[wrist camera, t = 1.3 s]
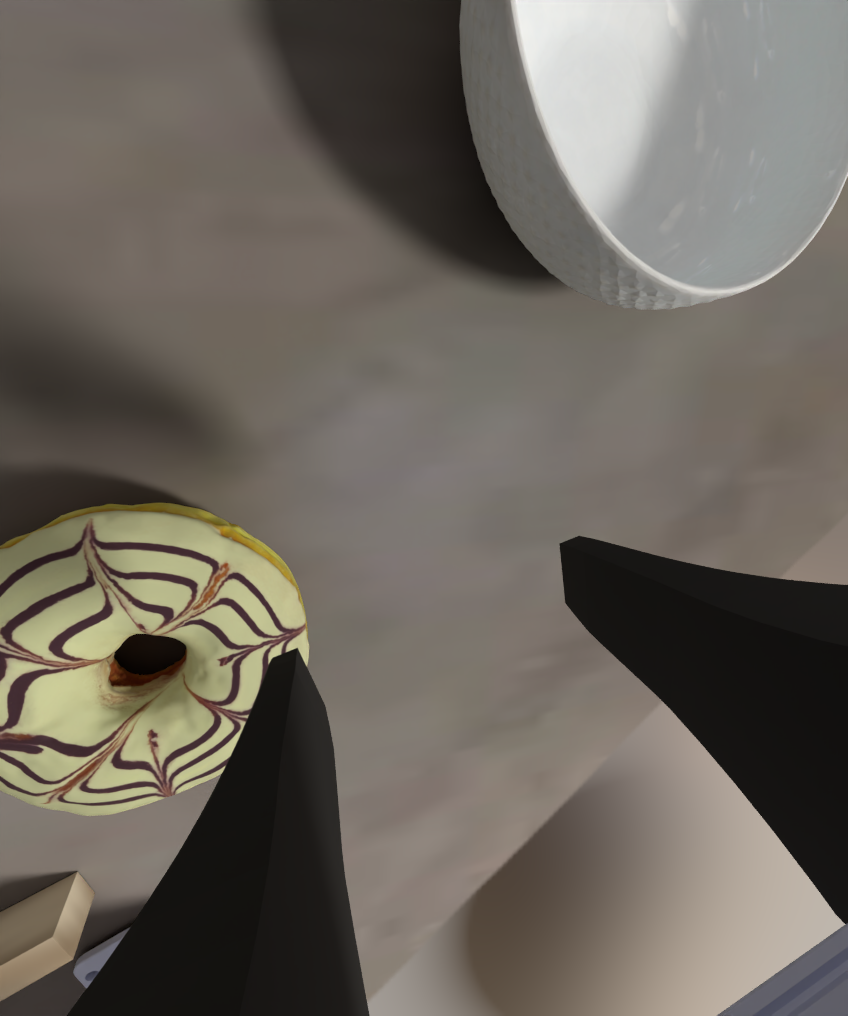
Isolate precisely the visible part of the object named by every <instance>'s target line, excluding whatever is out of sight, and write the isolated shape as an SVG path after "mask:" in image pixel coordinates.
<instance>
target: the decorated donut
mask: <svg viewBox="0 0 848 1016" xmlns="http://www.w3.org/2000/svg"><path fill="white" fill-rule="evenodd" d="M135 634H150V635H156V636H166V637H171V638H175V639H177V640H179V641H181V642H182V643H184V644H185V645H186V651H185V656H184V657H183V658H182V659H181V660H180V661H178V662H176V663H175V664H174V665H171V666H169V667H167V668H166V669H165V670H161V671H159V672H156V673H154V674H150V675H143V674H142V675H139V674H133V673H130V672H128V671H127V670H125V668H123V667H121V666H120V665H119V664H118V662H117V660H115V658H114V654H115V653H114V652H115V651H116V650H117V649H118V648H119V647H120V646H121V645H122V643H123V642H124V641H125V640H126V639H127V638H128V637H130V636H132V635H135ZM296 648H298V650H299V652H300V654H301V656H302V658H303V660H304V662H305V664H306V666H307V663H308V657H309V643H308V630H307V621H306V615H305V610H304V605H303V602H302V598H301V594H300V591H299V589H298V586H297V584H296V582H295V579H294V577H293V575H292V573H291V571H290V569H289V568H288V566H287V565H286V563H285V562H284V561H283V560H282V559H281V558H280V557H279V556H278V555H277V554H276V553H275V552H274V551H273V550H272V549H270V548H269V547H268V546H266V545H265V544H264V543H262V542H261V541H259V540H258V539H256V538H254V537H253V536H251V535H250V534H248V533H247V532H245V531H244V530H243V529H242V528H241V527H239V526H238V525H235V524H231V523H229V522H227V521H225V520H224V519H221V518H219V517H216V516H215V515H213V514H212V513H210V512H207V511H205V510H202V509H198V508H192V507H186V506H182V505H178V504H172V503H147V504H138V505H119V504H106V505H103V506H95V507H89V508H85V509H80V510H76V511H73V512H70V513H67V514H65V515H61V516H60V517H59V518H57V519H55V520H53V521H52V522H50V523H49V524H47V525H45V526H44V527H42V528H40V529H38V530H35V531H33V532H31V533H28V534H25V535H22V536H18V537H15V538H13V539H11V540H9V541H7V542H6V543H4V544H3V545H1V546H0V790H1V791H3V792H4V793H7V794H9V795H12V796H14V797H16V798H18V799H20V800H23V801H25V802H27V803H29V804H32V805H35V806H38V807H42V808H46V809H52V810H63V811H67V812H71V813H75V814H79V815H84V816H96V815H110V814H115V813H118V812H123V811H126V810H130V809H133V808H137V807H140V806H143V805H146V804H149V803H153V802H155V801H158V800H160V799H163V798H166V797H169V796H172V795H175V794H178V793H180V792H182V791H185V790H187V789H190V788H192V787H194V786H196V785H198V784H200V783H203V782H206V781H208V780H210V779H212V778H214V777H216V776H218V775H219V774H221V773H222V772H223V770H224V768H225V766H226V764H227V762H228V760H229V758H230V756H231V754H232V752H233V750H234V748H235V746H236V743H237V741H238V739H239V737H240V734H241V732H242V730H243V727H244V725H245V723H246V720H247V718H248V716H249V713H250V711H251V709H252V706H253V704H254V701H255V699H256V696H257V694H258V691H259V689H260V686H261V684H262V681H263V678H264V676H265V673H266V670H267V668H268V665H269V663H270V661H271V659H272V658H273V657H276V656H278V655H281V654H283V653H286V652H288V651H291V650H293V649H296Z"/></svg>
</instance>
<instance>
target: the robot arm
mask: <svg viewBox="0 0 848 1016" xmlns="http://www.w3.org/2000/svg"><path fill="white" fill-rule="evenodd" d="M560 553H561V563H562V573H563V583H564V594H565V603H566V604H567V606H568V607H569V608H570V609H571V611H572V612H573V613H574V614H575V616H576V617H577V618H578V619H579V621H580V622H581V623H582V624H583V625H584V627H585V628H586V629H587V630H588V631H589V632H590V633H591V634H592V635H593V636H594V637H595V638H596V639H597V640H598V641H599V642H600V643H601V644H602V645H603V646H604V647H605V648H606V649H607V650H609V651H610V652H611V653H612V654H613V655H614V656H615V657H616V658H617V659H618V660H619V661H620V662H621V663H622V664H624V665H625V666H626V667H627V668H628V669H629V670H630V671H631V672H632V673H633V674H634V675H635V676H636V677H637V678H639V679H640V680H641V681H642V682H643V683H644V684H645V685H646V686H647V687H648V688H649V689H650V690H651V691H653V692H654V693H655V694H656V695H657V696H658V697H659V698H660V699H661V700H662V701H663V702H664V703H665V704H666V705H667V706H668V707H669V708H670V709H671V710H672V711H673V713H674V714H675V715H676V716H677V717H678V718H679V719H680V720H681V722H682V723H683V724H684V725H685V726H686V727H687V728H688V729H689V731H690V732H691V733H692V734H693V735H694V736H695V737H696V738H697V739H698V740H699V741H700V743H701V744H702V745H703V746H704V747H705V748H706V750H707V751H708V752H709V753H710V755H711V756H712V757H713V758H714V759H715V760H716V762H717V763H718V764H719V765H720V766H721V767H722V769H723V770H724V771H725V772H726V773H727V775H728V776H729V777H730V778H731V779H732V780H733V782H734V783H735V784H736V785H737V787H738V788H739V789H740V790H741V791H742V793H743V794H744V795H745V796H746V798H747V799H748V800H749V801H750V803H752V805H753V806H754V808H755V809H756V810H757V811H758V813H759V814H760V815H761V816H762V818H763V819H764V820H765V821H766V822H767V824H768V825H769V826H770V827H771V829H772V830H773V831H774V833H775V834H776V835H777V836H778V838H779V839H780V840H781V842H782V843H783V844H784V846H785V847H786V848H787V849H788V851H789V852H790V854H791V855H792V856H793V857H794V859H795V860H796V861H797V863H798V864H799V865H800V867H801V868H802V869H803V871H804V872H805V873H806V874H807V876H808V877H809V879H810V880H811V881H812V882H813V884H814V885H815V887H816V888H817V889H818V891H819V892H820V893H821V895H822V896H823V897H824V899H825V900H826V901H827V903H828V904H829V906H830V907H831V908H832V910H833V911H834V913H835V914H836V915H837V916H838V917H839V918H840V919H841V920H842V921H843V922H844V923H845V924H846V925H844V926H843V927H841V928H840V929H839V930H837V931H836V932H834V933H833V934H831V935H830V936H829V937H827V938H826V939H824V940H823V941H822V942H820V943H819V944H817V945H816V946H815V947H813V948H812V949H811V950H809V951H807V952H806V953H805V954H803V955H802V956H800V957H799V958H798V959H796V960H795V961H793V962H792V963H790V964H789V965H788V966H786V967H785V968H783V969H782V970H781V971H779V972H778V973H776V974H775V975H774V976H772V977H771V978H769V979H768V980H767V981H765V982H764V983H762V984H761V985H759V986H758V987H757V988H755V989H754V990H753V991H751V992H750V993H748V994H747V995H745V996H744V997H742V998H741V999H740V1000H738V1001H737V1002H736V1003H734V1004H733V1005H731V1006H730V1007H729V1008H727V1009H726V1010H724V1011H723V1012H721V1013H720V1014H718V1015H717V1016H848V585H838V584H825V583H815V582H805V581H794V580H785V579H777V578H769V577H762V576H756V575H749V574H743V573H736V572H730V571H725V570H719V569H714V568H709V567H705V566H700V565H695V564H690V563H686V562H681V561H677V560H673V559H669V558H665V557H661V556H657V555H653V554H649V553H645V552H641V551H637V550H634V549H630V548H626V547H622V546H619V545H615V544H611V543H607V542H603V541H600V540H596V539H591V538H587V537H582V536H578V537H575V538H573V539H570V540H568V541H565V542H562V543H560ZM73 974H74V976H75V977H76V978H77V979H78V980H79V981H80V982H81V983H82V984H83V986H84V987H85V988H86V990H85V992H84V993H83V994H82V996H81V997H80V998H79V1000H78V1001H77V1003H76V1004H75V1005H74V1007H73V1008H72V1009H71V1011H70V1012H69V1013H68V1015H67V1016H369V1011H368V1006H367V1000H366V995H365V989H364V984H363V978H362V972H361V967H360V961H359V956H358V950H357V945H356V939H355V933H354V927H353V921H352V916H351V910H350V904H349V898H348V892H347V886H346V880H345V872H344V864H343V855H342V844H341V832H340V819H339V807H338V794H337V782H336V770H335V758H334V747H333V742H332V737H331V731H330V726H329V721H328V717H327V712H326V707H325V704H324V702H323V700H322V698H321V696H320V694H319V692H318V690H317V688H316V685H315V683H314V681H313V679H312V677H311V675H310V673H309V671H308V669H307V666H306V664H305V662H304V660H303V658H302V656H301V654H300V652H299V650H298V648H296V649H293V650H291V651H288V652H286V653H283V654H281V655H278V656H276V657H273V658H272V659H271V661H270V663H269V665H268V668H267V670H266V673H265V676H264V678H263V681H262V684H261V686H260V689H259V691H258V694H257V696H256V699H255V701H254V704H253V706H252V709H251V711H250V713H249V716H248V718H247V720H246V723H245V725H244V727H243V730H242V732H241V734H240V737H239V739H238V741H237V743H236V746H235V748H234V750H233V752H232V754H231V756H230V758H229V760H228V762H227V764H226V766H225V768H224V770H223V772H222V774H221V776H220V779H219V781H218V783H217V785H216V787H215V789H214V791H213V792H212V794H211V796H210V798H209V800H208V802H207V804H206V806H205V808H204V809H203V811H202V813H201V815H200V817H199V818H198V820H197V822H196V824H195V825H194V827H193V829H192V831H191V832H190V834H189V836H188V838H187V839H186V841H185V843H184V844H183V846H182V848H181V850H180V851H179V853H178V854H177V856H176V858H175V859H174V861H173V862H172V864H171V866H170V867H169V869H168V870H167V872H166V873H165V875H164V877H163V878H162V880H161V881H160V883H159V884H158V886H157V887H156V889H155V890H154V892H153V894H152V895H151V897H150V898H149V900H148V901H147V903H146V904H145V906H144V907H143V909H142V911H141V912H140V914H139V915H138V917H137V918H136V920H135V921H134V923H133V924H132V926H131V927H129V928H128V929H126V930H124V931H122V932H121V933H119V934H117V935H116V936H114V937H112V938H110V939H109V940H107V941H105V942H103V943H102V944H100V945H98V946H96V947H95V948H93V949H91V950H90V951H88V952H86V953H84V954H83V955H82V956H80V957H79V958H78V960H77V961H76V964H75V967H74V971H73Z"/></svg>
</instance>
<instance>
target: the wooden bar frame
mask: <svg viewBox="0 0 848 1016" xmlns="http://www.w3.org/2000/svg"><path fill="white" fill-rule="evenodd" d="M94 894H95V893H94V892H93V890H92V889H91V888H90V887H89V885H88V884H87V883H86V882H85V880H84V879H83V878H82V877H81V875H80V874H79V873H78V872H76V873H74V874H72V875H70V876H68V877H66V878H64V879H63V880H61V881H59V882H57V883H55V884H53V885H51V886H49V887H47V888H45V889H44V890H42V891H40V892H38V893H36V894H34V895H32V896H30V897H28V898H26V899H25V900H23V901H21V902H19V903H17V904H15V905H13V906H11V907H9V908H7V909H6V910H4V911H2V912H0V1001H2V1000H4V999H5V998H7V997H9V996H11V995H12V994H14V993H16V992H18V991H19V990H21V989H23V988H25V987H26V986H28V985H30V984H31V983H33V982H35V981H37V980H38V979H40V978H42V977H44V976H45V975H47V974H49V973H51V972H52V971H54V970H56V969H57V968H59V967H61V966H63V965H64V964H66V963H68V962H70V961H71V960H73V958H74V955H75V952H76V949H77V946H78V943H79V940H80V937H81V934H82V931H83V928H84V925H85V922H86V919H87V916H88V913H89V909H90V906H91V903H92V900H93V897H94Z"/></svg>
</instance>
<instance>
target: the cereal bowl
mask: <svg viewBox="0 0 848 1016" xmlns="http://www.w3.org/2000/svg"><path fill="white" fill-rule="evenodd" d="M459 29H460V56H461V67H462V80H463V91H464V96H465V100H466V108H467V114H468V117H469V123H470V127H471V132H472V136H473V142H474V144H475V147H476V149H477V155H478V159H479V161H480V164H481V167H482V169H483V172H484V174H485V178H486V182H487V183H488V185H489V186H490V188H491V192H492V195H493V196H494V197H495V199H496V201H497V204H498V207H499V208H500V210H501V211H502V212H503V214H504V215H505V219H506V220H507V221H508V223H509V224H510V227H511V229H512V230H513V231H514V232H515V233H516V235H517V236H518V238H519V240H520V241H521V242H522V243H523V244H524V246H525V248H526V249H528V250H529V251H530V252H531V254H532V255H533V257H534V258H535V259H537V260H538V261H539V263H540V264H542V265H543V266H544V267H545V268H546V269H547V270H548V271H549V273H551V274H553V275H554V276H555V277H556V278H558V279H559V280H560V281H561V282H563V283H564V284H565V285H566V286H569V287H572V288H573V289H574V290H575V291H576V292H579V293H581V294H584V295H587V296H589V297H590V298H592V299H594V300H599V301H602V302H604V303H606V304H608V305H617V306H619V307H621V308H635V309H640V310H641V309H652V310H656V309H674V308H677V307H689V306H692V305H694V304H697V303H707V302H711V301H713V300H716V299H719V298H725V297H729V296H732V295H734V294H737V293H740V292H742V291H746V290H748V289H751V288H753V287H755V286H757V285H759V284H761V283H763V282H765V281H767V280H768V279H770V278H771V277H773V276H774V275H776V274H777V273H779V272H780V271H781V270H783V269H784V268H785V267H786V266H787V265H788V264H790V263H791V262H792V261H793V260H794V259H795V258H796V257H797V256H798V255H799V254H800V253H801V252H802V251H803V250H804V249H805V247H806V246H807V245H808V244H809V243H810V241H811V240H812V239H813V238H814V236H815V235H816V234H817V232H818V231H819V229H820V228H821V226H822V225H823V223H824V221H825V220H826V218H827V217H828V215H829V213H830V212H831V210H832V208H833V206H834V205H835V203H836V201H837V199H838V197H839V194H840V192H841V190H842V188H843V186H844V183H845V181H846V179H847V176H848V0H461V11H460V24H459Z"/></svg>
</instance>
